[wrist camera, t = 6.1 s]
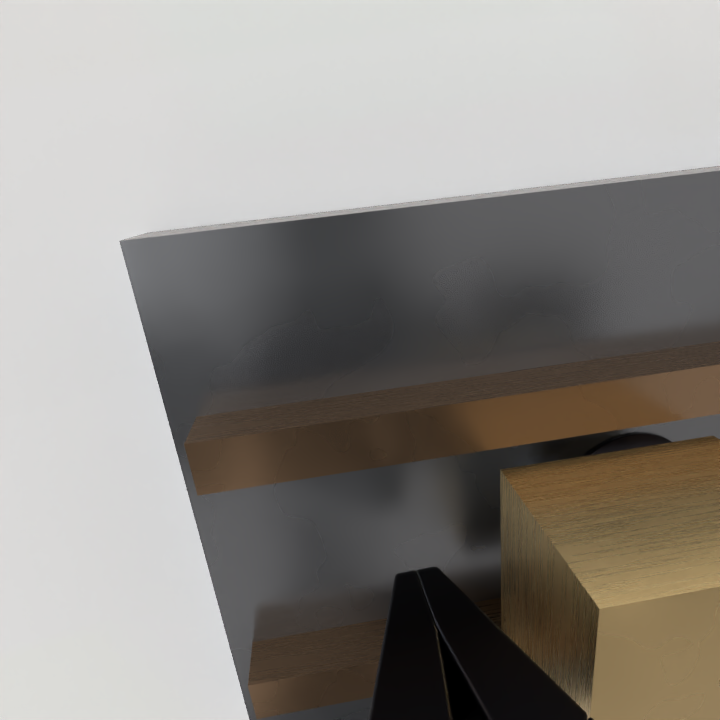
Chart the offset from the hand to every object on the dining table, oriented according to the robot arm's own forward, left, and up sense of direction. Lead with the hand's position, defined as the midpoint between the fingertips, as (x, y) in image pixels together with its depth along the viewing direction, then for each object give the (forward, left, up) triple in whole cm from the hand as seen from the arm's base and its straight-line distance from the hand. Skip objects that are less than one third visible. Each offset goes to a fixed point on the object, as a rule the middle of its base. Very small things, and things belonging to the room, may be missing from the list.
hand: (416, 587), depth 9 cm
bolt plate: (0, -9, -3) cm, 9 cm away
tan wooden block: (0, -4, -1) cm, 4 cm away
